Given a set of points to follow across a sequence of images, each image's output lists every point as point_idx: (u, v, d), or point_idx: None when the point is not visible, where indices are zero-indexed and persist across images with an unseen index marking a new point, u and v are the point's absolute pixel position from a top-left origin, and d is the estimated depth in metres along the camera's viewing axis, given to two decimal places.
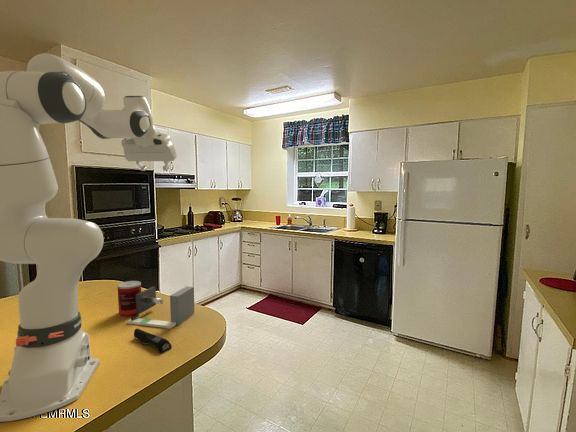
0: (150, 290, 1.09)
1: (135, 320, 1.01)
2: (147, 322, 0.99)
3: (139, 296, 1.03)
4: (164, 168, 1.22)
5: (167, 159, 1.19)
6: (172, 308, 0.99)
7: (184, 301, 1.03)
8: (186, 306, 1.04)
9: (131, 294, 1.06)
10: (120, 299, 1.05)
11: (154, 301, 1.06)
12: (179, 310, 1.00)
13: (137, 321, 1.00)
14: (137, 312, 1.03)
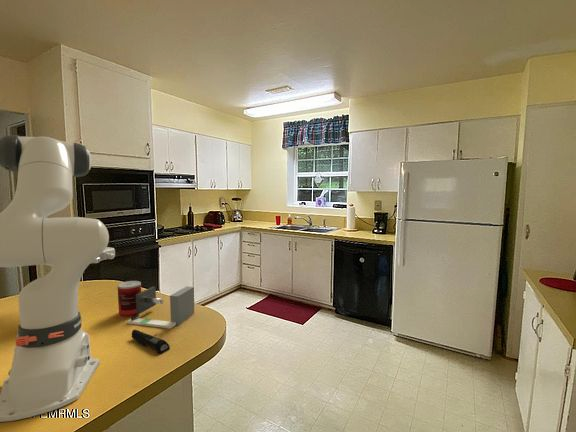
0: (150, 290, 1.09)
1: (135, 320, 1.01)
2: (147, 322, 0.99)
3: (139, 296, 1.03)
4: (109, 254, 1.13)
5: (109, 249, 1.18)
6: (172, 308, 0.99)
7: (184, 301, 1.03)
8: (186, 306, 1.04)
9: (131, 294, 1.06)
10: (120, 299, 1.06)
11: (154, 301, 1.06)
12: (179, 310, 1.00)
13: (137, 321, 1.00)
14: (137, 312, 1.03)
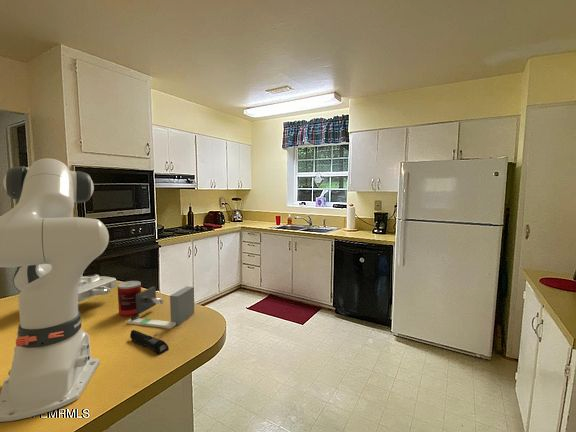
0: (150, 290, 1.09)
1: (135, 320, 1.01)
2: (147, 322, 0.99)
3: (139, 296, 1.03)
4: (106, 288, 1.12)
5: (110, 279, 1.20)
6: (172, 308, 0.99)
7: (184, 301, 1.03)
8: (186, 306, 1.04)
9: (131, 294, 1.06)
10: (120, 299, 1.05)
11: (154, 301, 1.06)
12: (179, 310, 1.00)
13: (137, 321, 1.00)
14: (137, 312, 1.03)
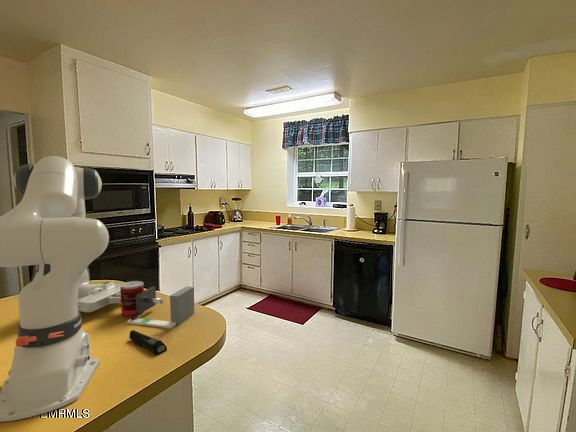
0: (150, 290, 1.09)
1: (135, 320, 1.01)
2: (147, 322, 0.99)
3: (139, 296, 1.03)
4: None
5: None
6: (172, 308, 0.99)
7: (184, 301, 1.03)
8: (186, 306, 1.04)
9: (133, 294, 1.05)
10: (123, 299, 1.05)
11: (154, 301, 1.06)
12: (179, 310, 1.00)
13: (137, 321, 1.00)
14: (137, 312, 1.03)
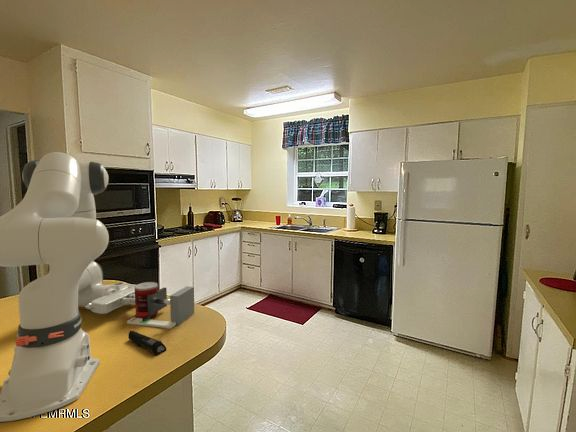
0: (161, 291, 1.08)
1: (135, 320, 1.01)
2: (147, 322, 0.99)
3: (151, 297, 1.02)
4: None
5: None
6: (172, 308, 0.99)
7: (184, 301, 1.03)
8: (186, 306, 1.04)
9: None
10: (137, 301, 1.04)
11: (165, 302, 1.05)
12: (179, 310, 1.00)
13: (137, 321, 1.00)
14: (149, 313, 1.02)
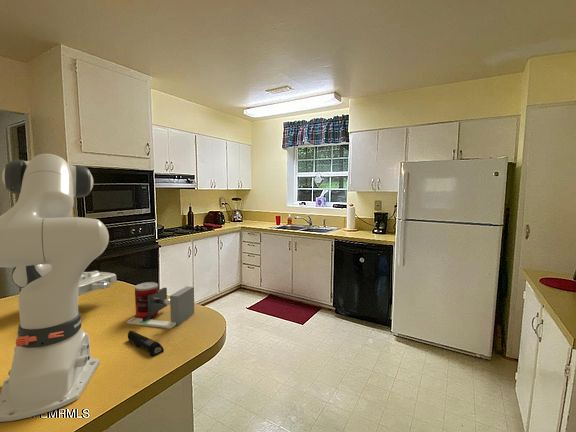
0: (161, 291, 1.08)
1: (135, 320, 1.01)
2: (147, 322, 0.99)
3: (151, 297, 1.02)
4: (105, 282, 1.11)
5: (110, 275, 1.19)
6: (172, 308, 0.99)
7: (184, 301, 1.03)
8: (186, 306, 1.04)
9: None
10: (137, 301, 1.04)
11: (166, 302, 1.05)
12: (179, 310, 1.00)
13: (137, 321, 1.00)
14: (149, 313, 1.02)
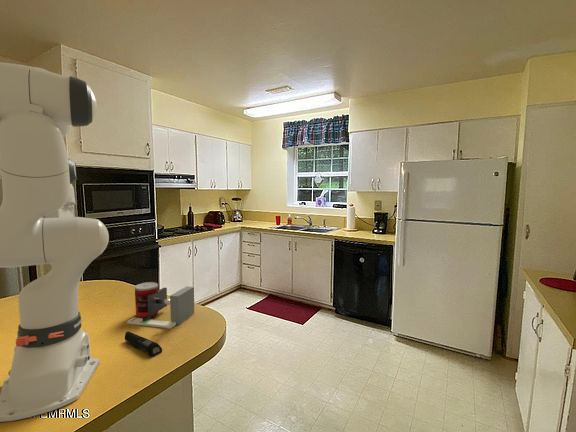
0: (161, 291, 1.08)
1: (135, 320, 1.01)
2: (147, 322, 0.99)
3: (151, 297, 1.02)
4: None
5: None
6: (172, 308, 0.99)
7: (184, 301, 1.03)
8: (186, 306, 1.04)
9: None
10: (137, 301, 1.04)
11: (166, 302, 1.05)
12: (179, 310, 1.00)
13: (137, 321, 1.00)
14: (149, 313, 1.02)
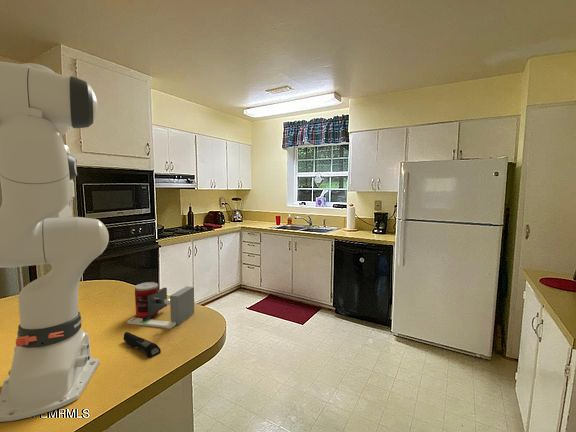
0: (161, 291, 1.08)
1: (135, 320, 1.01)
2: (147, 322, 0.99)
3: (151, 297, 1.02)
4: None
5: (70, 214, 1.07)
6: (172, 308, 0.99)
7: (184, 301, 1.03)
8: (186, 306, 1.04)
9: None
10: (137, 301, 1.04)
11: (166, 302, 1.05)
12: (179, 310, 1.00)
13: (137, 321, 1.00)
14: (149, 313, 1.02)
